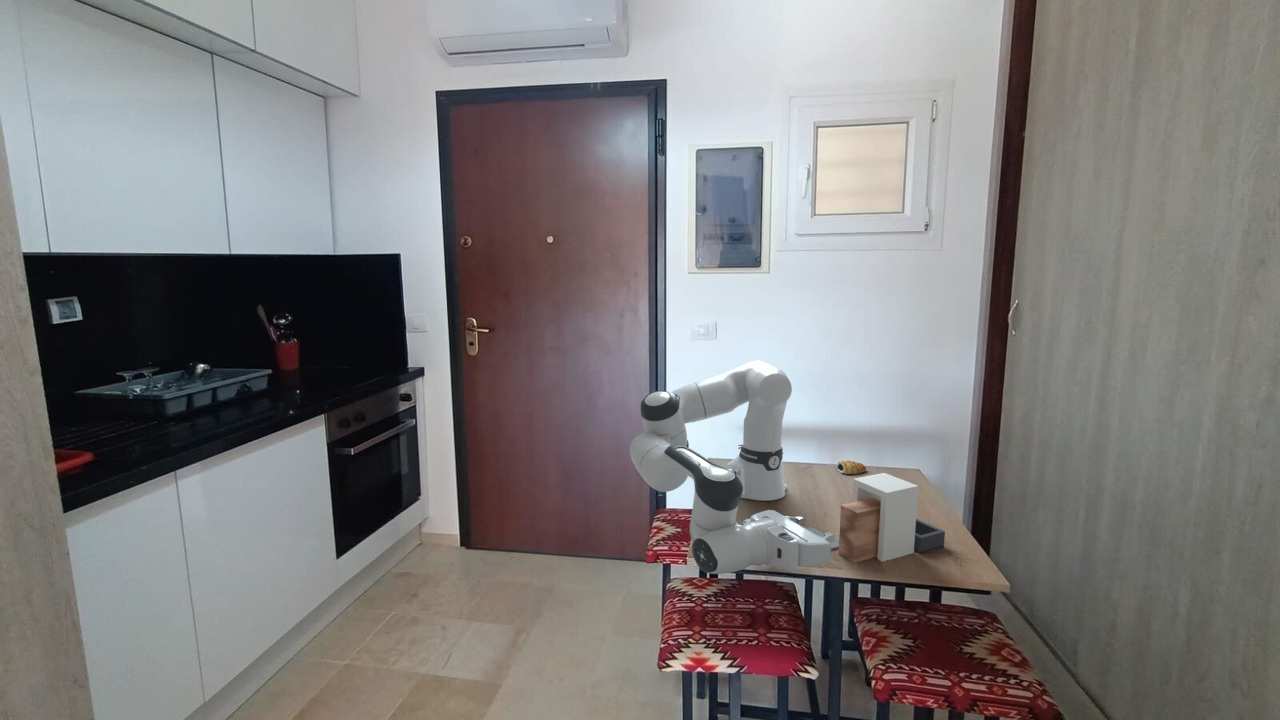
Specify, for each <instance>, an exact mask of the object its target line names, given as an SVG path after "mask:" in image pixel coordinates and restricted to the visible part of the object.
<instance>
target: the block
mask: <svg viewBox="0 0 1280 720" xmlns="http://www.w3.org/2000/svg"><path fill="white" fill-rule="evenodd" d="M880 508H881V501H879V500H876V499H874V498H870V499H866V500H861V501H857V502H852V501H851V502H850V503H849V502H847V503H843V504H841V505H840V520H839V523H840V524H839V534H838V535H839V537H838V542H839V548H838V555H840V554H841V555H840V556H842V555H843V556H842V557H844V556H845V557H846V559H847V558H848V559H847V560H849V559H850V560H851V562H852V561H853V563H854V562H856V563H859V562H862V560H863V561H866V560H865V559H867V560H870V559H874V558H877V557H878V541H879V525H880ZM876 556H877V557H876ZM845 557H844V558H845ZM873 557H874V558H873ZM869 558H870V559H869ZM850 560H849V561H850ZM858 561H859V562H858Z"/></svg>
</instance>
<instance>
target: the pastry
mask: <svg viewBox="0 0 1280 720" xmlns="http://www.w3.org/2000/svg"><path fill="white" fill-rule="evenodd" d="M836 466H837V467H836ZM836 468H837V469H836ZM835 469H836V471H837V470H838V471H840V472H839V473H841V474H843V473H844V474H843V475H846V474H851V475H854V474H855V475H860V474H859V473H861V472H864V473H866V472H867V467H866V465H864V464H863V463H862V462H857V461H853V460H841V461H838V462H837V463H836V465H835ZM838 471H837V472H838ZM861 474H862V473H861Z"/></svg>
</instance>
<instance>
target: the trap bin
mask: <svg viewBox="0 0 1280 720" xmlns="http://www.w3.org/2000/svg"><path fill="white" fill-rule="evenodd" d="M945 537H946V531H945V530H942V529H940V528H939V527H936V526H933V525H931V524H929V523H926V522H924V521H922V520H920V519H918V518H916V527H915V542H914V553H915V552H916V553H918V555H919V554H920V555H921V554H925V553H929V552H932V551H936V550H939V549H942V548H944V547H945Z"/></svg>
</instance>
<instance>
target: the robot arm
mask: <svg viewBox="0 0 1280 720" xmlns="http://www.w3.org/2000/svg"><path fill="white" fill-rule="evenodd" d="M792 389H793V388H792V383H791V381H790V379H789V377H788V376H787V373H785V372H784V371H783V370H781V369H780V368H778V367H776V366H774V365H772V364H771V363H767V362H766V361H762V360H754V361H753V360H752V361H749V362H747V363H745V364H743V365H741V366H738V367H736V368H734V369H731V370H729V371H726V372H725V373H722V374H719V375H717V376H713V377H710V378H706V379H703V380H699V381H696V382H693V383H689V384H686V385H683V386H681V387H678V388H677V389H674V390H673V391H672V390H671V391H667V390H656V391H652V392H650V393H648V394H647V395H646V396H644V398H643V399H642V400H641V402H640V415H641V417H642V422H643V428H644V432H641V433H640V434H638V435H637V436H635V437H634V438H633V440H632V441H631V444H630V446H629V455H630V458H631V461H632V463H633V465H634V466H635V469H636V470H637V471H638V473H639V474H640V476H641V477H642V479H644V481H645V482H646V483H647V485H648V486H650V488H652V489H654V490H655V491H657V492H662V493H665V492H671V491H675V490H676V489H678V488H680V487H682V485H684V483H685V482H687V480H688V478H691V479H692V480H693V482H694V483H693V484H694V496H693V503H692V509H691V515H690V516H691V517H690V522H689V537H690V538H691V540H692V541H693V543H692V546H691V547H692V548H691V552H692V557H693V559H694V562H695V563H696V565H697V566H698V567H699V569H700V570H702V571H703V572H704V573H706V574H711V575H722V574H723V575H724V574H730V573H734V572H735V573H736V572H738V571H742V570H746V569H747V568H748V567H750V566H761V565H767V566H772V567H776V568H778V569H779V568H780V570H781V569H782V570H785V571H786V572H790V573H793V572H796V571H798V569H799V567H800V568H801V567H802V568H809V567H813V566H816V565H821V564H823V563H826V562H828V561H829V560H830V559H831V556H832V555H831V554H832V550H831V543H833V542H834V541H835V540H836V536H835V534H834V533H831V532H830V531H828V532H823V533H824V537H820V536H818V535H816V534H814V533H813V532H811V531H809V530H807V528H806V527H804V526H805V525H806V519H805V518H804V517H803V516H801V515H800V516H799V515H798V516H789V515H783V514H781V513H779V512H777V511H776V510H775V509H773V510H772V509H767V510H763V511H759V512H756V513H755V514H754V513H753V514H752V515H751V516H750V518H746V519H744V520H743V521H742V524H739V523H738V522H737V516H738V515H737V514H738V508H739V505H740V502H741V499H746V500H747V499H748V500H751V501H752V500H754V501H764V502H765V501H766V502H767V501H776V500H779V499H782V498H784V497H785V496H786V490H788V484H787V483H786V482H785V467H784V462H783V455H784V451H783V450H784V449H783V447H782V440H783V439H782V438H783V437H782V434H783V433H782V432H783V431H782V430H783V421H784V420H783V419H784V415H785V412H786V407H787V403H788V400H789V399H790V397H791V396H792V395H791V394H792ZM747 403H748V405H747V409H746V415H745V417H744V420H743V443H742V444H738V447H737V448H738V449H739V450H740V451H739V454H738V455H737V456H736V457H735V458H734V459H731V460H730V461H729V462H728V463H727V464H726V465H725V467H723V466H720V465H717V464H716V463H714V462H712V461H711V460H709V459H708V458H706V457H705V456H703V455H701V454H700V453H698V452H696V451H695V450H694V449H691V448H690V447H689V440H688V434H687V428H686V427H687V426H686V424H690V423H695V422H700V421H704V420H707V419H711V418H715V417H718V416H722V415H725V414H728V413H731V412H733V411H734V410H735V409H737V408H738V407H740V406H742V405H745V404H747Z"/></svg>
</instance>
